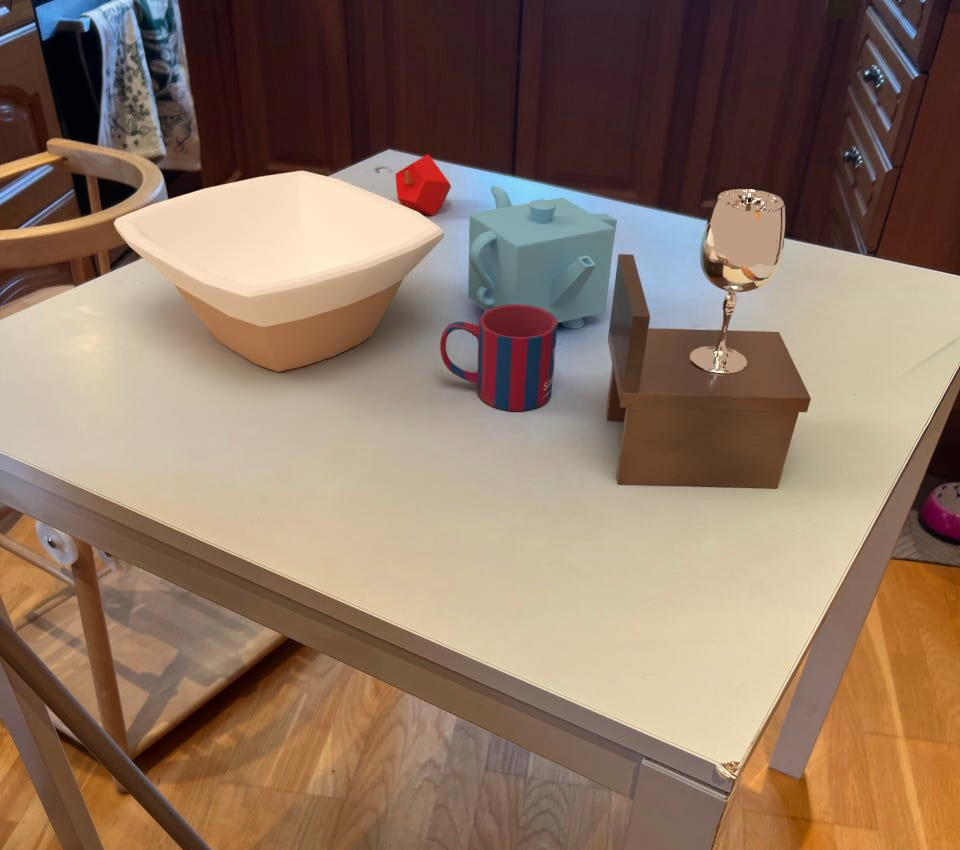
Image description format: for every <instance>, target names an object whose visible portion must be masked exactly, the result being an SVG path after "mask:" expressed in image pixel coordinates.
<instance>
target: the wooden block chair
mask: <svg viewBox="0 0 960 850" xmlns="http://www.w3.org/2000/svg"><path fill="white" fill-rule="evenodd" d="M650 321H651V314H650V310H649V306H648V303H647V299H646V296H645V292H644V288H643V285H642V282H641V277H640V273H639V270H638V267H637V262H636V260H635V256H634V254H633V253H632V254H630V253H629V254H628V253H619V254H618V255H617V263H616V271H615V280H614V287H613V296H612V304H611V312H610V320H609V327H608V337H607V343H608V349H609V355H610V359H611V370H610V376H609V377H610V378H609V386H608V392H607V400H606V401H607V403H606V409H605V417H606V420H607V421H614V422H615V421H617V422H619V421H620V422H623V426H622V433H621V439H620V440H621V441H620V447H619V454H618V461H617V468H616V475H615V477H616V482H617V485H636V486H637V485H639V486H640V485H642V486H676V487H678V486H680V487H713V488H714V487H717V488H753V489H754V488H756V489H778V488H779V485H780V481H781V478H782V474H783V471H784V467H785V463H786V461H787V457H788V453H789V450H790V446H791V442H792V439H793V435H794V432H795V427H796V425H797V421H798V417H799V414H800V413H808V410H809V407H810V404H811V400H812V398H811V395H810V393H809V391H808V389H807V387H806V385H805V383H804V381H803V379H802V377H801V375H800V374H801V373H800V372H799V371H798V368H797V366H796V365H795V362H794V360H793V358H792V356H791V353H790V352H789V350H788V347H787V346H786V344H785V341H784V339H783V337H782V334H781V333H780V331H769V330H768V331H765V330H763V331H762V330H727V335H726V341H725V344H726V348H730V349H733V350H735V351H738V352H739V353H741V354H742V355H744V356H745V358H746V359H747V366H746V367H745V368H744V369H743V370H741V371H739V372H736V373H729V374H720V373H713V372H708V371H705V370H702V369H700V368H698V367H697V366H695V365H694V364H693V363H692V362H691V361H690V354H691V352H692V351H693V350H695V349H697V348H700V347H704V346H716V345H717V343H718V341H719V338H720V334H721V330H722V329H696V328H695V329H690V328H689V329H688V328H655V327H654V328H653V327H650Z"/></svg>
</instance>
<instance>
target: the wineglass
mask: <svg viewBox="0 0 960 850" xmlns="http://www.w3.org/2000/svg"><path fill="white" fill-rule="evenodd" d="M785 237H786V202H785V201H784V199H783V198H782V197H780V196H778V195H776V194H774V193H770V192H768V191H763V190H759V189H758V190H757V189H748V188H735V189H729V190H725V191H722V192H720V193H719V194H718V195H717V198H716V200H715V202H714V205H713V207H712V209H711V211H710V214H709V216H708V219H707V220H706V224H705V228H704V230H703V234H702V238H701V243H700V248H699V265H700V270H701V272H702V274H703V276H704V278H705V279H706V280H707V281H708V282H709V283H710V284H711V285H712V286H714V287H716V288H717V289H720V290H722V291H724V292H728V293H727V294H726V295H725V297H724V299H723V302H722V325H721V329H720V330H721V334H720V338H719V341H718V343H717V345H716V346H704V347H700V348H697V349H695V350H693V351H692V352H691V354H690V361H691V362H692V363H693V364H694V365H695V366H697V367H698V368H700V369H702V370H705V371H708V372H713V373H720V374H729V373H736V372H739V371H741V370H743V369H744V368H745V367H746V366H747V359H746V358H745V356H744V355H742V354H741V353H739V352H738V351H735V350H733V349H730V348H726V344H725V341H726V335H727V330H728V329H729V325H730V322H731V318H732V316H733V313H734V312H735V310H736V308H737V305H738V297H737V294H742V293H748V292H751V291H755V290H758V289H760V288H761V287H764V286H765V285H766V284H767V283H768V282H769V281H771V280H772V278H773V277H774V275H775V274H776V272H777V270H778V267H779V265H780V262H781V259H782V257H783V251H784V245H785Z"/></svg>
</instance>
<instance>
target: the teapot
mask: <svg viewBox="0 0 960 850" xmlns="http://www.w3.org/2000/svg"><path fill="white" fill-rule="evenodd" d="M489 190H490V192H491V194H492V196H493V198H494V201H495V207H496V208H494V209H487V210H483V211H477V212H471V213H470V214H469V223H468V224H469V225H468V226H469V227H468V230H469V231H468V232H469V233H468V292H467V293H468V295H467V297H468V298H469V299H470V300H471V301H473V302H474V303H475V304H476V305H478V306H479V307H480V308H481V309H483V310H484V312H485V311H487V310H489V309H491V308H494V307H497V306H502V305H512V304H519V305H529V306H534V307H538V308H541V309H543V310H545V311H547V312H549V313H551V314H552V315H553V316H554V317H555V318H556V320H557V324H559V323H561V325H562V326H564V327H565V328H568V329H580V328H582V327H584V326H585V322H584V320H583V319H582V318H585V317H589V316H594V315H598V314H603V313H606V309H607V302H608V295H609V293H608V292H609V285H610V275H611V267H612V261H613V260H612V259H613V252H614V244H615V238H616V231H617V230H616V229H617V223H618V219H616V218H614V217H613V216H611V215H609V214H608V213H590V212H588V211H587V210H585V209H583V208H582V207H580V206H578V204H577V205H576V204H575V203H573V202H571V201H570V200H568V199H567V198H565V197H557V198H551V199H545V198H544V199H543V198H542V199H540V198H539V199H535V200H531V201H530V202H528V203H521V204H517V205H512V202H511V199H510V197H509V194H508V193H507V192H506V191H505V190H504V189H503V188H502V187H499V186H497V185H496V186H495V185H494V186H493V185H492V186H490V189H489Z"/></svg>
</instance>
